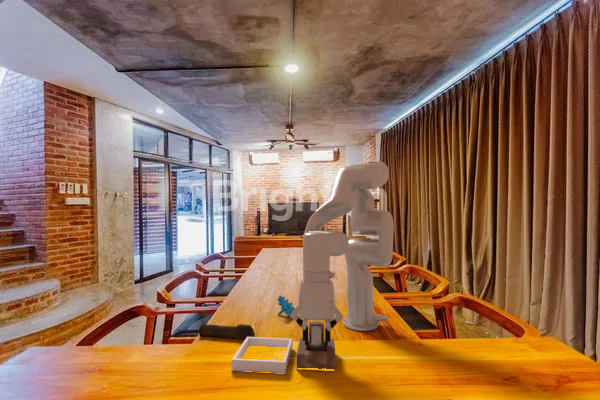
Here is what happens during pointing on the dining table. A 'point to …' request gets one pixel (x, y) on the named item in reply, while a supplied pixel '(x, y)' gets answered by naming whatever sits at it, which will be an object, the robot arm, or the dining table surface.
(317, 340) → the pin
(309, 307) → the robot arm
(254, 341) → the tray
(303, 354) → the socket block
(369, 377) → the dining table surface
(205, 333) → the hand tool
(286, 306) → the teal knobbly figurine
